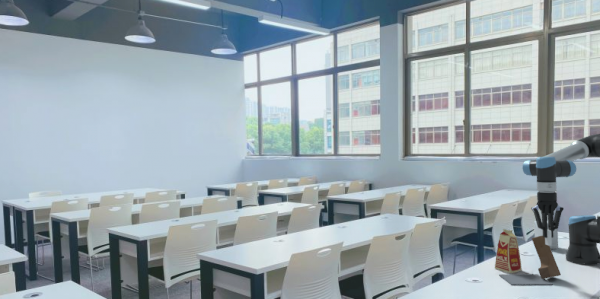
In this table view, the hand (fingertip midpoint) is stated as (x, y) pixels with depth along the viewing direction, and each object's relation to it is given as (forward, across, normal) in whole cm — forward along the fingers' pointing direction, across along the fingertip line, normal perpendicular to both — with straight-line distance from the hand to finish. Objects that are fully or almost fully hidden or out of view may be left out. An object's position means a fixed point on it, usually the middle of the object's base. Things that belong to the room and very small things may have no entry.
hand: (548, 244), depth 186 cm
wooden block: (+15, +1, 0) cm, 15 cm away
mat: (+16, -10, 0) cm, 19 cm away
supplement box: (+16, +27, +61) cm, 69 cm away
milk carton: (+16, -11, +17) cm, 26 cm away
